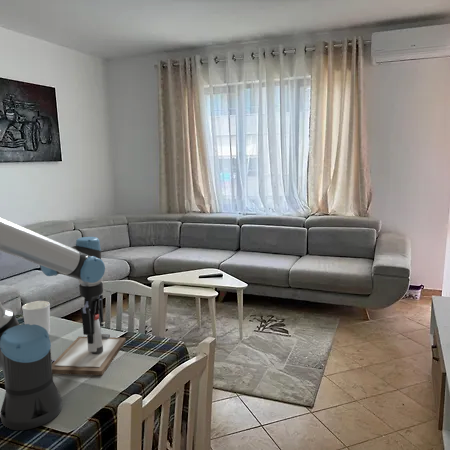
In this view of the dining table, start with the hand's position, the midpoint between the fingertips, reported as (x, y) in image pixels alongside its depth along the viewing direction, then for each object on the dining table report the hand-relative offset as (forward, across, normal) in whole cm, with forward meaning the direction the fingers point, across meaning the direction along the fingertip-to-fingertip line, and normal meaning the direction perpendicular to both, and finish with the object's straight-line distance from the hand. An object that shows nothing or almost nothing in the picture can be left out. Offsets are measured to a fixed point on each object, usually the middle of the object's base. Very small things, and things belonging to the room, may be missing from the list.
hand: (95, 347), depth 144 cm
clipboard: (+3, 0, +2) cm, 4 cm away
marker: (+1, 0, -1) cm, 1 cm away
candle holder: (+3, +16, +29) cm, 34 cm away
